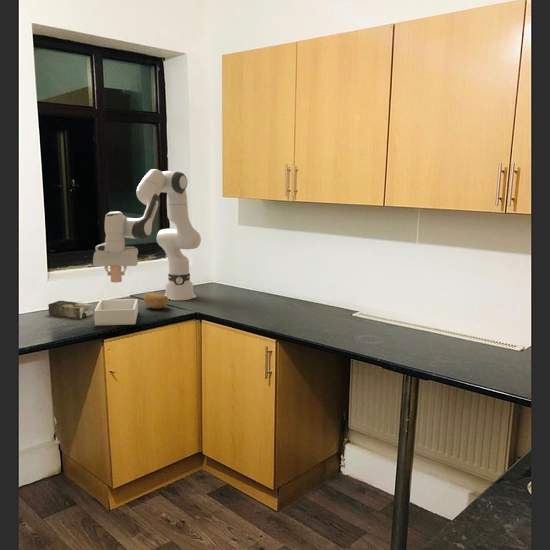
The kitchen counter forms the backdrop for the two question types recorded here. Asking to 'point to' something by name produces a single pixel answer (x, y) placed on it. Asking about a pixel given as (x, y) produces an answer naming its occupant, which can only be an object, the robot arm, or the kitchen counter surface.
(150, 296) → the potato
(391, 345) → the kitchen counter surface
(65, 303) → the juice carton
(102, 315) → the bin
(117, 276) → the wooden block
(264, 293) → the kitchen counter surface
